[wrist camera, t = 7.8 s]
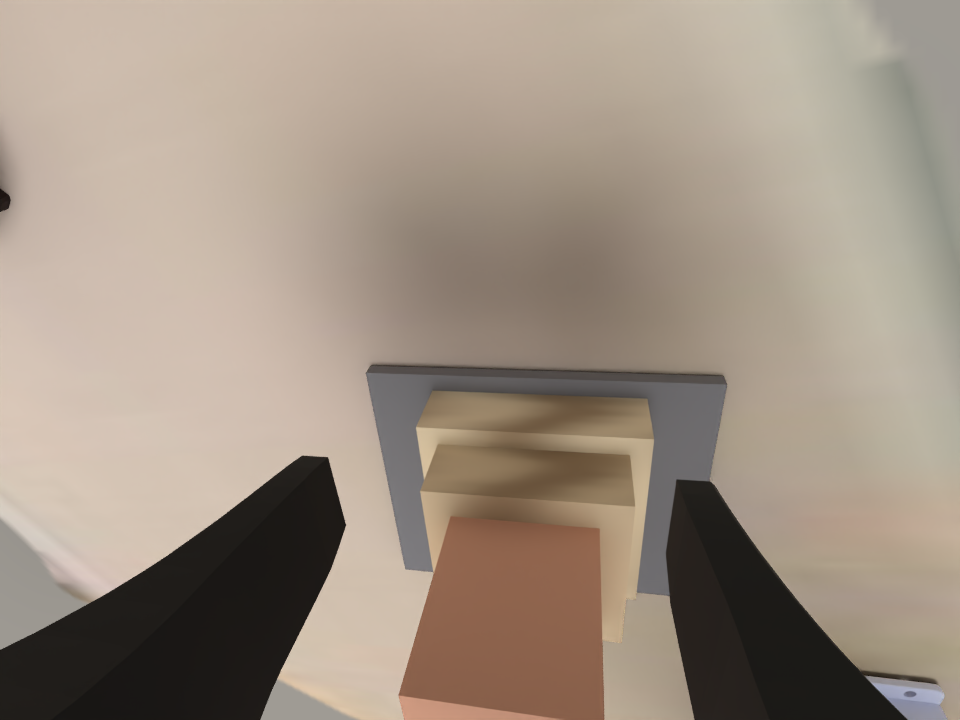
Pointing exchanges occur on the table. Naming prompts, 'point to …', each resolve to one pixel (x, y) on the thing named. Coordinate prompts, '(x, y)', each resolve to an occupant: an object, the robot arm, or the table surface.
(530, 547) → the terracotta block
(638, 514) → the oak slab base
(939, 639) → the table surface
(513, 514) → the oak slab top
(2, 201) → the mate gourd
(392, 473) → the mat
